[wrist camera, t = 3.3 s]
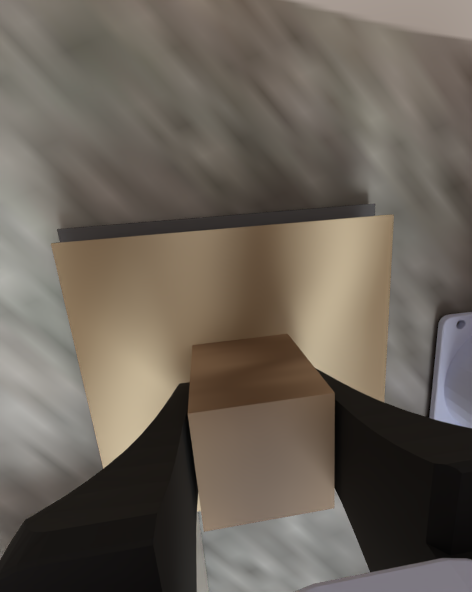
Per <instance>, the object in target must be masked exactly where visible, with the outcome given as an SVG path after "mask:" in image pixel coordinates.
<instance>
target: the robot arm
mask: <svg viewBox="0 0 472 592" xmlns="http://www.w3.org/2000/svg"><path fill="white" fill-rule="evenodd" d="M458 321H459V324H458V325H457V322H458ZM456 325H457V326H456ZM315 369H316V368H315ZM316 370H317V371H318V372H319V374H320V375H321V376H322V377H323V379H324V380H325V381H326V382H327V384H328V385H329V386H330V387H331V389H332V390H333V391H334V393H335V465H334V487H335V489H336V492H337V494H338V496H339V498H340V500H341V502H342V504H343V507H344V509H345V511H346V514H347V516H348V518H349V521H350V523H351V525H352V528H353V530H354V533H355V535H356V538H357V540H358V543H359V545H360V548H361V550H362V552H363V555H364V557H365V560H366V562H367V565H368V567H369V570H370V573H365V574H360V575H355V576H350V577H345V578H340V579H335V580H330V581H325V582H320V583H315V584H312V585H309V586H307V587H304V588H302V589H300V590H297V591H295V592H472V312H466V313H458V314H449V315H445V316H444V317H442V318H441V319H440V321H439V324H438V334H437V344H436V354H435V365H434V375H433V385H432V396H431V406H430V417H429V418H428V417H425V416H421V415H418V414H414V413H411V412H408V411H405V410H402V409H400V408H397V407H395V406H392V405H389V404H387V403H384V402H382V401H379V400H377V399H374V398H372V397H370V396H368V395H366V394H364V393H362V392H359V391H357V390H355V389H353V388H351V387H350V386H348V385H346V384H344V383H342V382H340V381H338V380H336V379H335V378H333V377H331V376H329V375H327V374H326V373H324V372H322V371H320V370H318V369H316ZM189 387H190V382H187V383H180V384H179V385H178V386H177V387H176V389H175V390H174V392H173V394H172V395H171V397H170V398H169V400H168V401H167V402H166V404H165V405H164V407H163V408H162V409H161V411H160V412H159V413H158V415H157V416H156V417H155V419H154V420H153V421H152V422H151V423H150V425H149V426H148V427H147V428H146V429H145V431H144V432H143V433H142V434H141V435H140V436H139V437H138V438H137V439H136V440H135V441H134V442H133V443H132V444H131V445H130V446H129V447H128V448H127V449H126V450H125V451H124V452H123V453H122V454H120V455H119V456H118V457H117V458H116V459H114V460H113V461H112V462H111V463H110V464H109V465H107V466H106V467H105V468H104V469H103V470H101V471H100V472H99V473H97V474H96V475H95V476H93V477H92V478H91V479H89V480H88V481H87V482H85V483H84V484H82V485H81V486H79V487H78V488H76V489H75V490H74V491H72V492H71V493H69V494H68V495H66V496H65V497H63V498H61V499H60V500H58V501H56V502H55V503H53V504H51V505H50V506H48V507H46V508H45V509H43V510H42V511H40V512H38V513H37V514H35V515H33V516H31V517H30V518H28V519H26V520H25V521H24V523H23V524H22V526H21V527H20V529H19V530H18V532H17V533H16V535H15V536H14V538H13V539H12V541H11V542H10V544H9V546H8V548H7V549H6V551H5V553H4V554H3V556H2V558H1V560H0V592H197V564H196V521H197V504H198V485H197V478H196V470H195V463H194V456H193V449H192V441H191V434H190V427H189V420H188V402H189Z"/></svg>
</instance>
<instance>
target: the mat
mask: <svg viewBox="0 0 472 592" xmlns="http://www.w3.org/2000/svg"><path fill="white" fill-rule="evenodd" d="M368 216H375V204H364V205H352V206H340V207H327V208H315V209H302V210H290V211H277V212H265V213H253V214H240V215H228V216H215V217H203V218H190V219H178V220H166V221H153V222H141V223H128V224H116V225H104V226H91V227H79V228H66V229H57V231H58V236H59V240H60V242H71V241H83V240H95V239H107V238H119V237H131V236H143V235H154V234H166V233H178V232H190V231H202V230H214V229H225V228H237V227H249V226H261V225H273V224H285V223H297V222H308V221H320V220H332V219H344V218H356V217H368Z"/></svg>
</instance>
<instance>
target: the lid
mask: <svg viewBox="0 0 472 592" xmlns="http://www.w3.org/2000/svg"><path fill="white" fill-rule="evenodd" d="M393 220H394V215H380V216H368V217H356V218H344V219H332V220H320V221H308V222H297V223H285V224H273V225H261V226H249V227H237V228H225V229H214V230H202V231H190V232H178V233H166V234H154V235H143V236H131V237H119V238H107V239H95V240H83V241H71V242H60V243H52V244H51V246H52V250H53V254H54V259H55V263H56V267H57V272H58V276H59V280H60V285H61V289H62V293H63V297H64V302H65V306H66V310H67V315H68V319H69V323H70V328H71V332H72V336H73V340H74V345H75V349H76V353H77V358H78V362H79V366H80V371H81V375H82V379H83V383H84V388H85V392H86V396H87V401H88V405H89V409H90V414H91V418H92V422H93V426H94V431H95V435H96V439H97V444H98V448H99V452H100V457H101V461H102V465H103V469H104V468H105V467H106V466H107V465H109V464H110V463H111V462H112V461H113V460H114V459H116V458H117V457H118V456H119V455H120V454H122V453H123V452H124V451H125V450H126V449H127V448H128V447H129V446H130V445H131V444H132V443H133V442H134V441H135V440H136V439H137V438H138V437H139V436H140V435H141V434H142V433H143V432H144V431H145V429H146V428H147V427H148V426H149V425H150V423H151V422H152V421H153V420H154V419H155V417H156V416H157V415H158V413H159V412H160V411H161V409H162V408H163V407H164V405H165V404H166V402H167V401H168V400H169V398H170V397H171V395H172V394H173V392H174V390H175V389H176V387H177V386H178V385H179V384H180V383H187V382H190V387H189V402H188V420H189V427H190V434H191V441H192V449H193V456H194V463H195V470H196V478H197V485H198V504H197V512H198V511H201V514H202V521H203V528H204V532H205V531H210V530H216V529H221V528H227V527H232V526H238V525H243V524H249V523H255V522H260V521H266V520H271V519H277V518H282V517H288V516H293V515H299V514H305V513H310V512H316V511H321V510H327V509H332V508H334V488H335V487H334V465H335V393H334V391H333V390H332V389H331V387H330V386H329V385H328V384H327V382H326V381H325V380H324V379H323V377H322V376H321V375H320V374H319V372H318V371H317V370H316V369H318V370H320V371H322V372H324V373H326V374H327V375H329V376H331V377H333V378H335V379H336V380H338V381H340V382H342V383H344V384H346V385H348V386H350V387H351V388H353V389H355V390H357V391H359V392H362V393H364V394H366V395H368V396H370V397H372V398H374V399H377V400H379V401H382V402H384V395H385V376H386V356H387V337H388V317H389V298H390V278H391V259H392V239H393ZM315 368H316V369H315Z"/></svg>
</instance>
